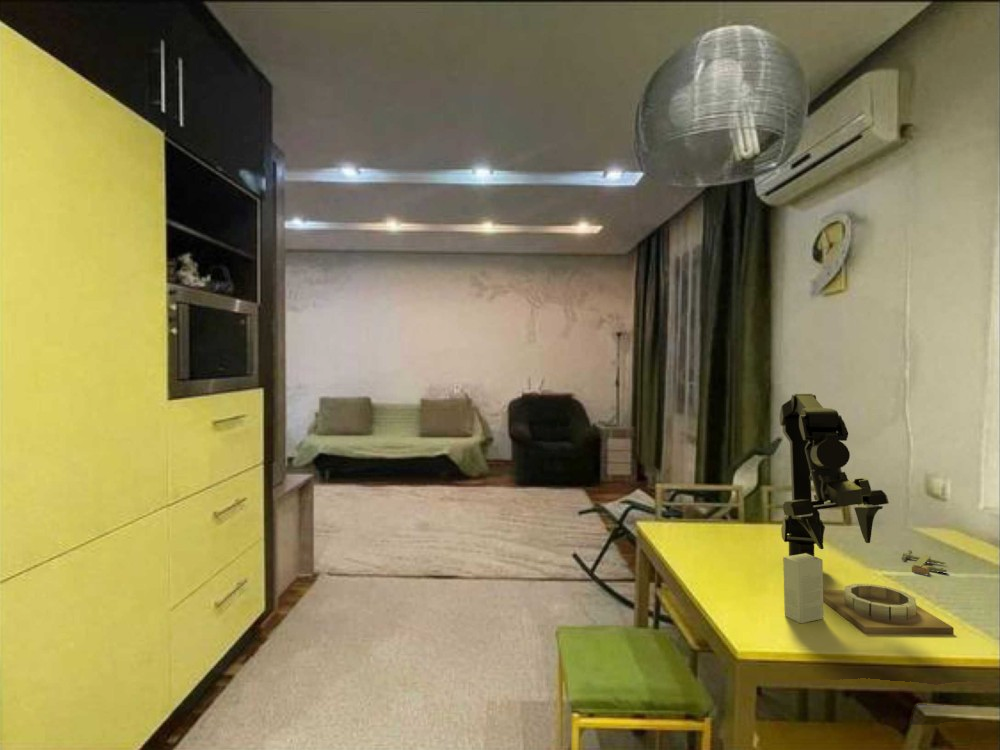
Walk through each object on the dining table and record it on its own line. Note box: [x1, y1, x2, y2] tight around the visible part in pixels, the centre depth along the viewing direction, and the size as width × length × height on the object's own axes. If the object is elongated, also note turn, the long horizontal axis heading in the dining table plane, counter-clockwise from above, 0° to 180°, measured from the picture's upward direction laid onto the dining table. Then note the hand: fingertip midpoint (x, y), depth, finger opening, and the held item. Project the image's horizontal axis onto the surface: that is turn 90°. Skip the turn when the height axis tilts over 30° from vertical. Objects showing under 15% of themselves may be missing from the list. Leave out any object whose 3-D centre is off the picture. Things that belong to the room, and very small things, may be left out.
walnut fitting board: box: [823, 589, 955, 635], centre depth 116 cm, size 18×16×1 cm
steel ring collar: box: [843, 583, 917, 620], centre depth 116 cm, size 12×12×2 cm
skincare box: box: [782, 553, 825, 624], centre depth 114 cm, size 6×4×12 cm
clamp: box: [900, 549, 948, 575], centre depth 143 cm, size 15×2×10 cm
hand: (844, 545), depth 117 cm, fingers open, 9 cm apart
